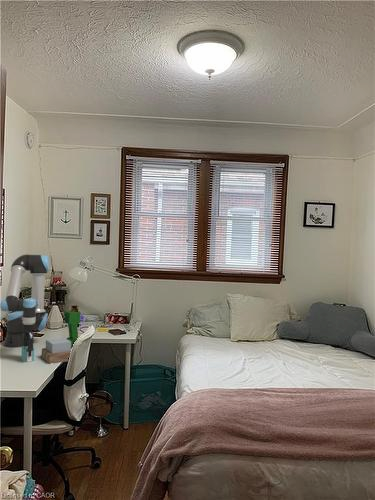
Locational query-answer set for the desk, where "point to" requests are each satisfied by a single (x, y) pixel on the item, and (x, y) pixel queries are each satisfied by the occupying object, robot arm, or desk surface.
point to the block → (24, 354)
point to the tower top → (58, 345)
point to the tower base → (55, 356)
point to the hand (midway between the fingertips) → (27, 359)
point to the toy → (72, 323)
